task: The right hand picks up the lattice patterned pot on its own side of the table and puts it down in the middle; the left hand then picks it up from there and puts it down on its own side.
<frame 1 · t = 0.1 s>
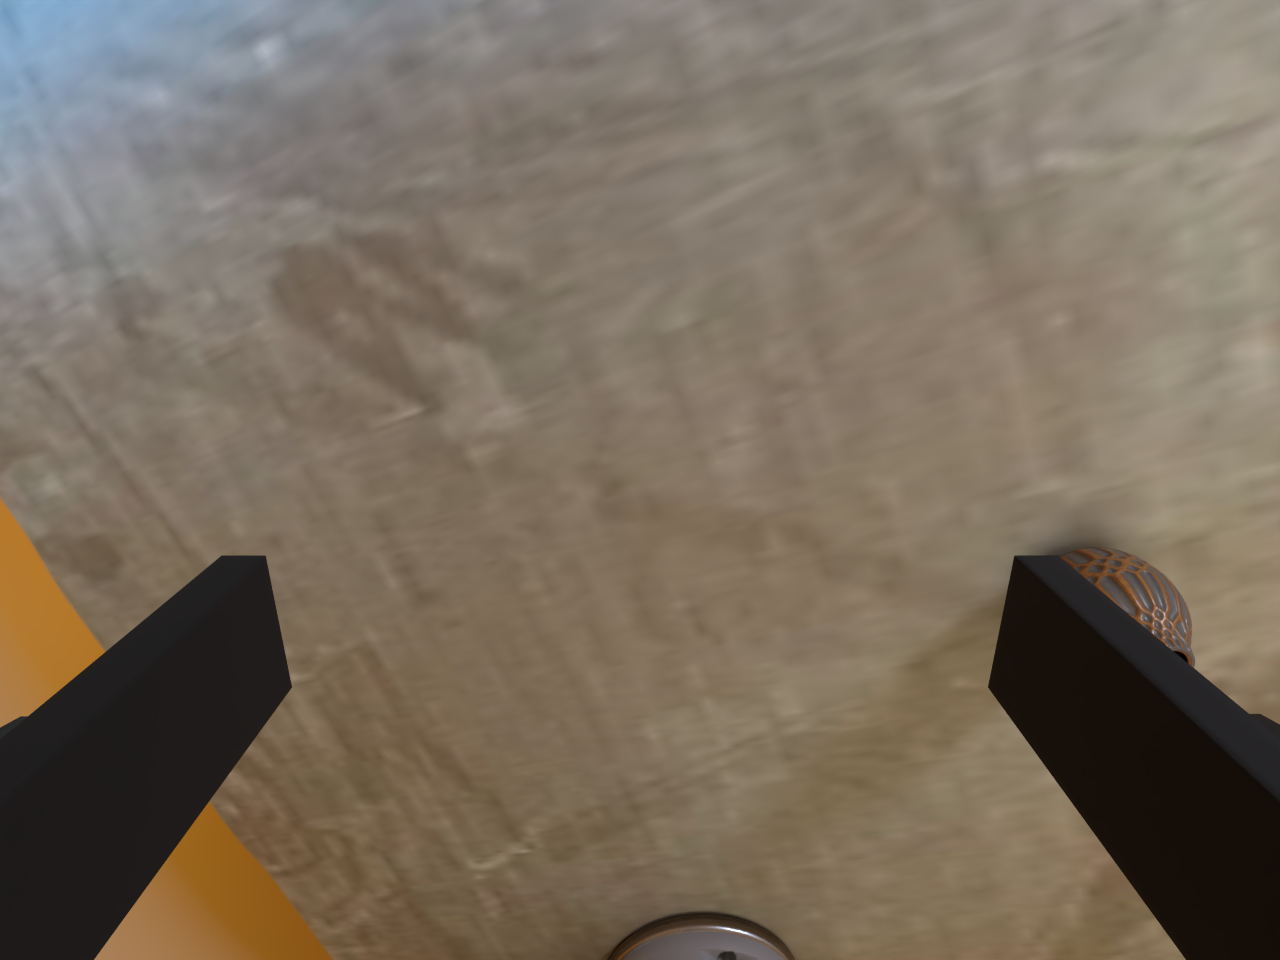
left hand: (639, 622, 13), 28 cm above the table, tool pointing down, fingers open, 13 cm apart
lattice patterned pot: (1072, 582, 44), on the table
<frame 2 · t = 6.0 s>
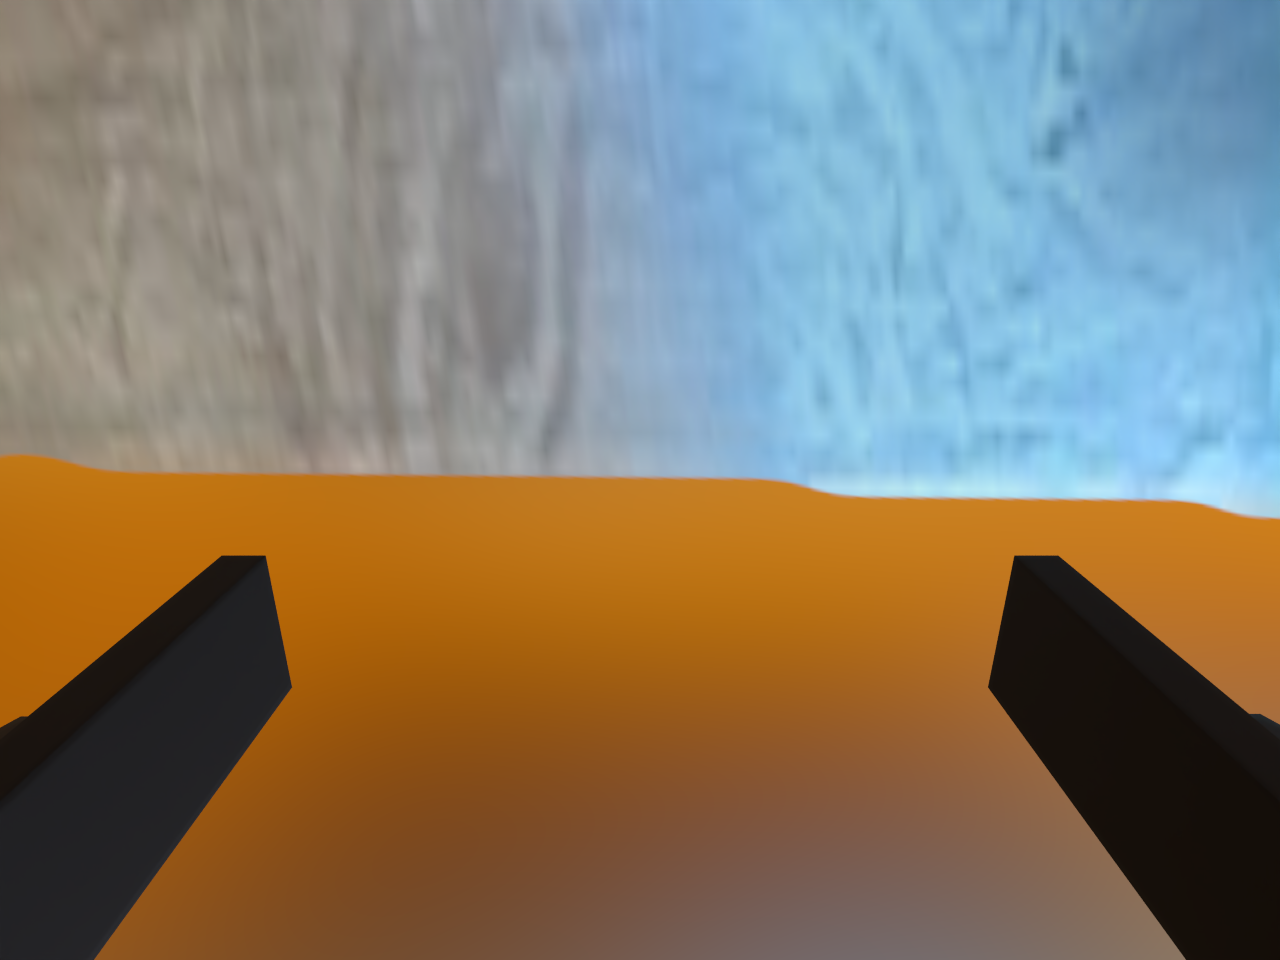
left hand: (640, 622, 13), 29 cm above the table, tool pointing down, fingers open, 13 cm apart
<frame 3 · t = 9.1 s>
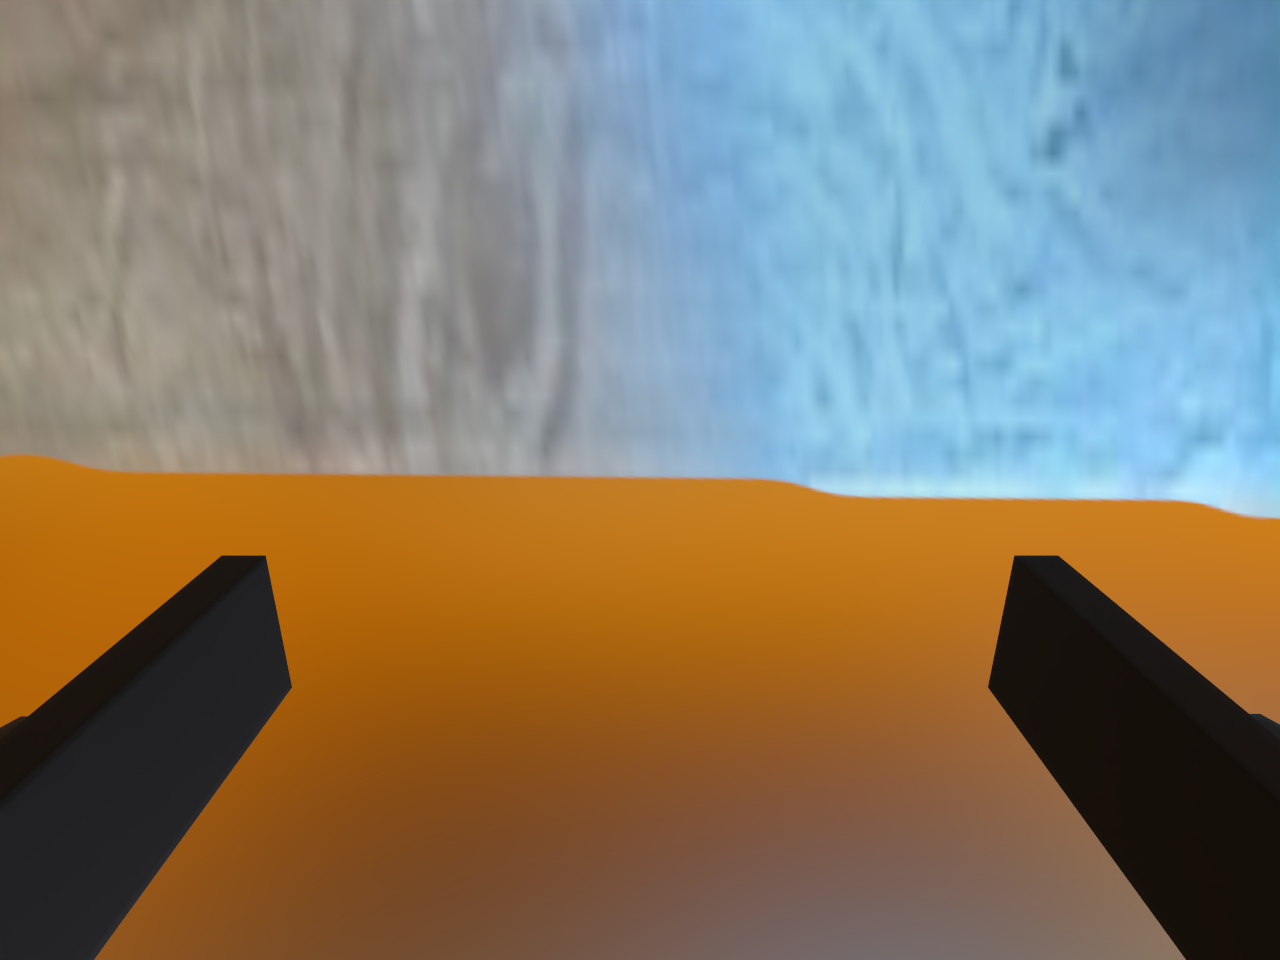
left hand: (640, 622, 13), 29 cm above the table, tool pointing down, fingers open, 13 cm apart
when the right hand's fingers open (4 cm above the table, at t = 12.7 s): lattice patterned pot drops 1 cm, on the table.
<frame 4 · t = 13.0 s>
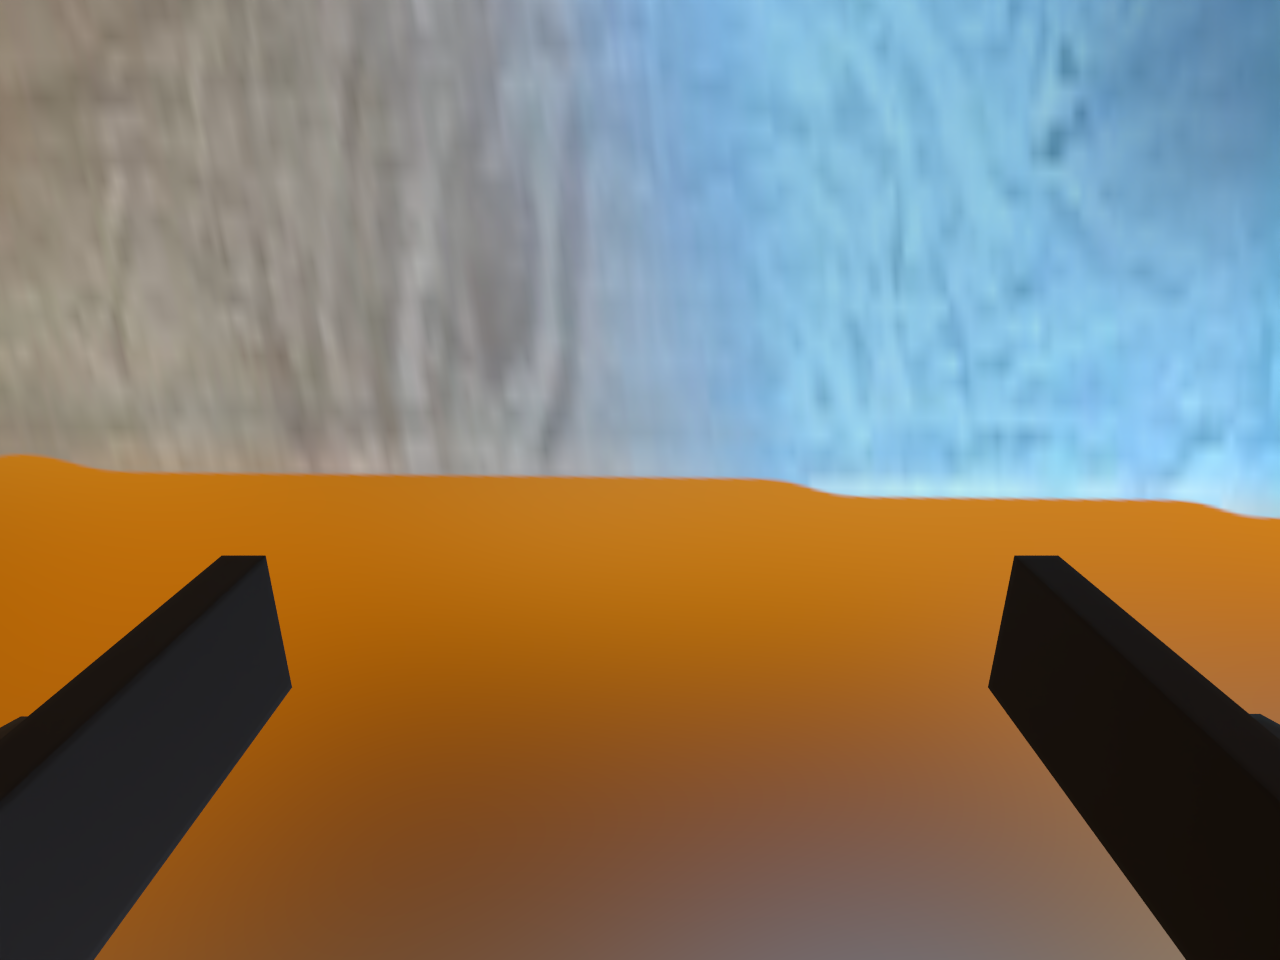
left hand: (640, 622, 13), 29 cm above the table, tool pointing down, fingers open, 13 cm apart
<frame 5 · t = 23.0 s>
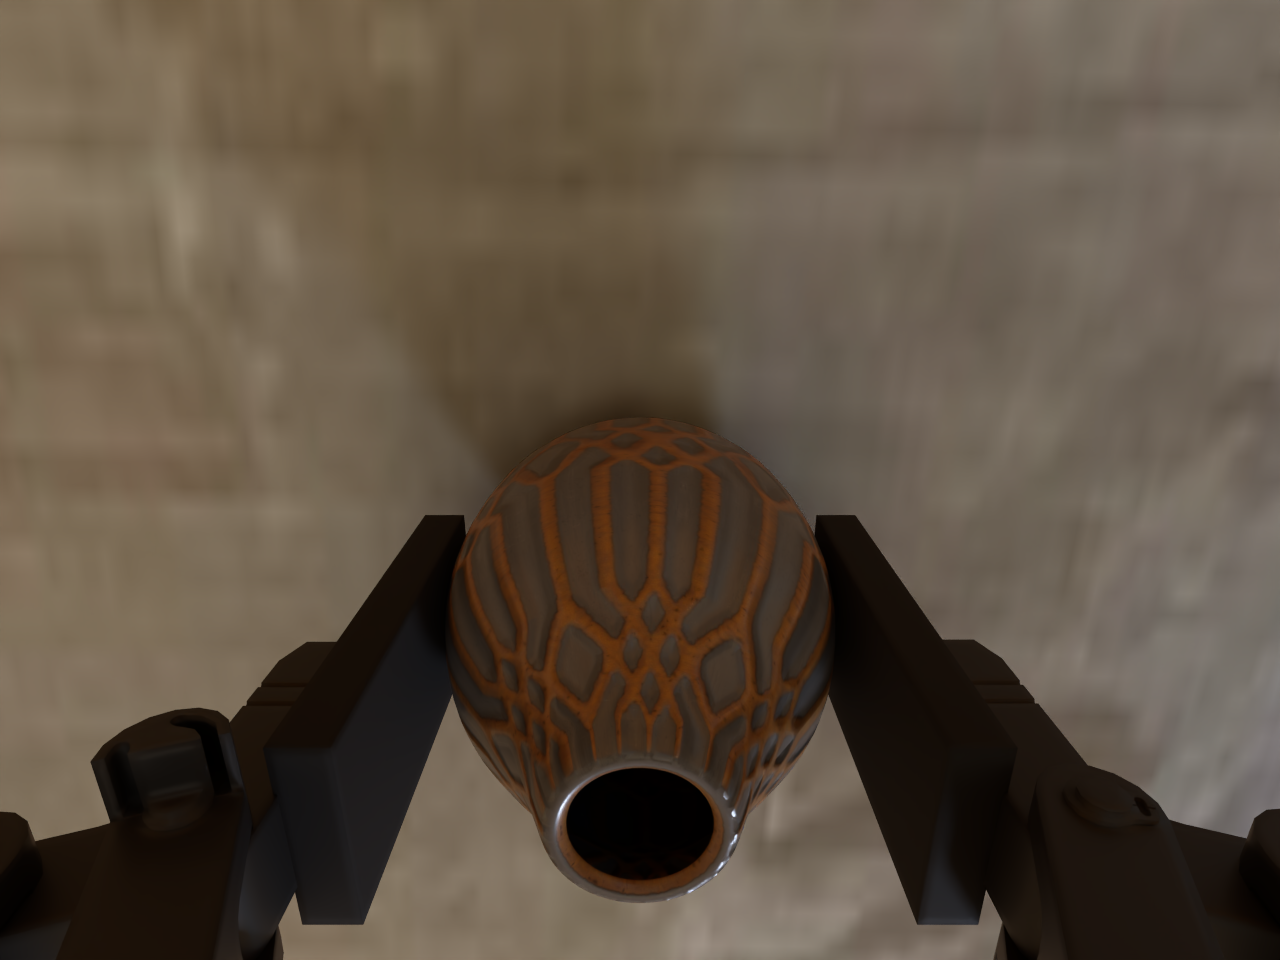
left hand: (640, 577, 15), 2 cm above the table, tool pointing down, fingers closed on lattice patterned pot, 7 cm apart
lattice patterned pot: (640, 529, 17), on the table, touching left hand
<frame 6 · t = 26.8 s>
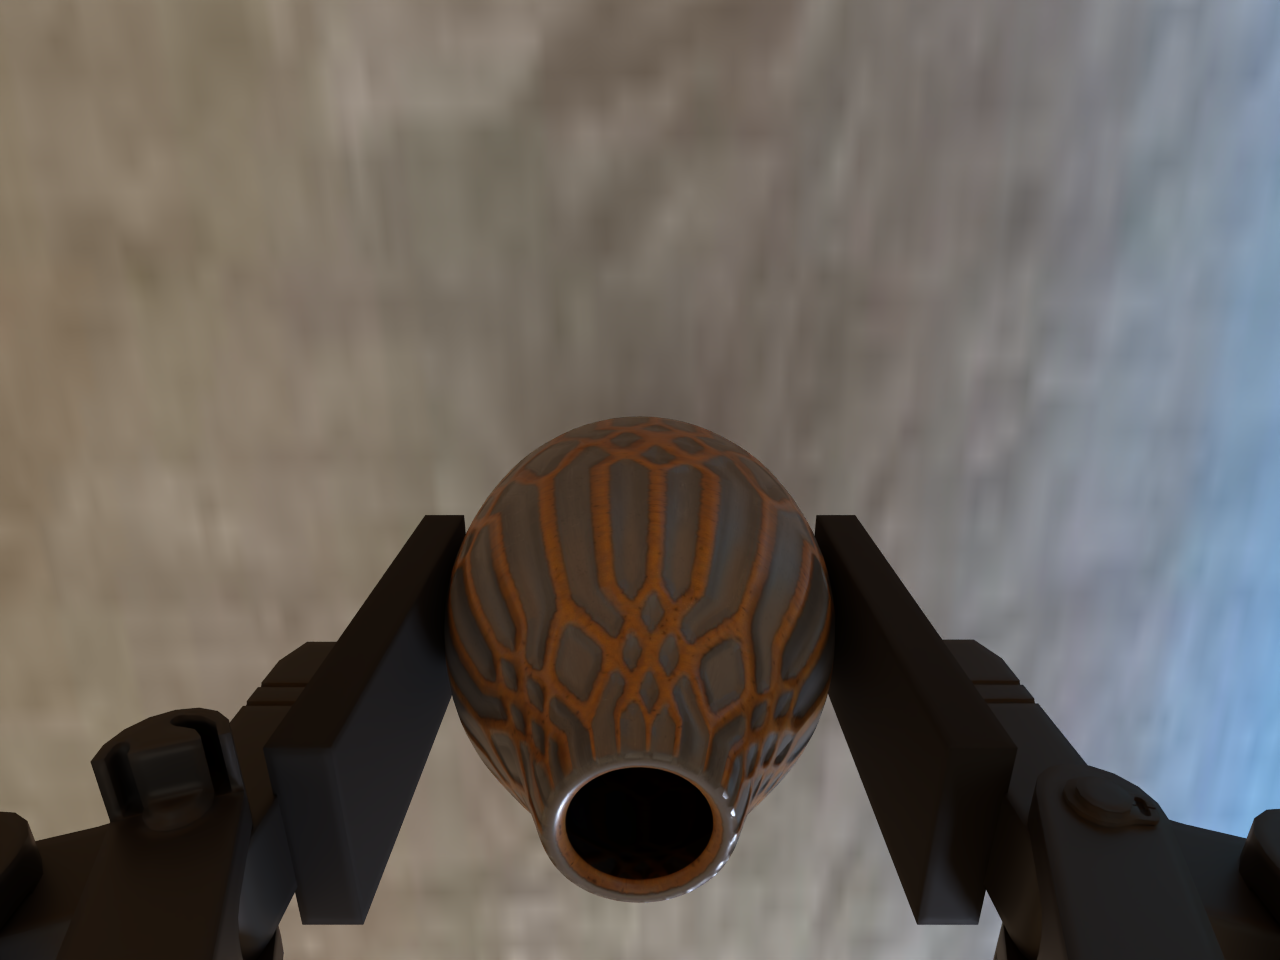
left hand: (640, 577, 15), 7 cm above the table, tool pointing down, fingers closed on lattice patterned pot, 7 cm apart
lattice patterned pot: (639, 528, 17), point 5 cm above the table, touching left hand
when the left hand's fingers open (4 cm above the table, at t = 30.5 s): lattice patterned pot drops 1 cm, on the table.
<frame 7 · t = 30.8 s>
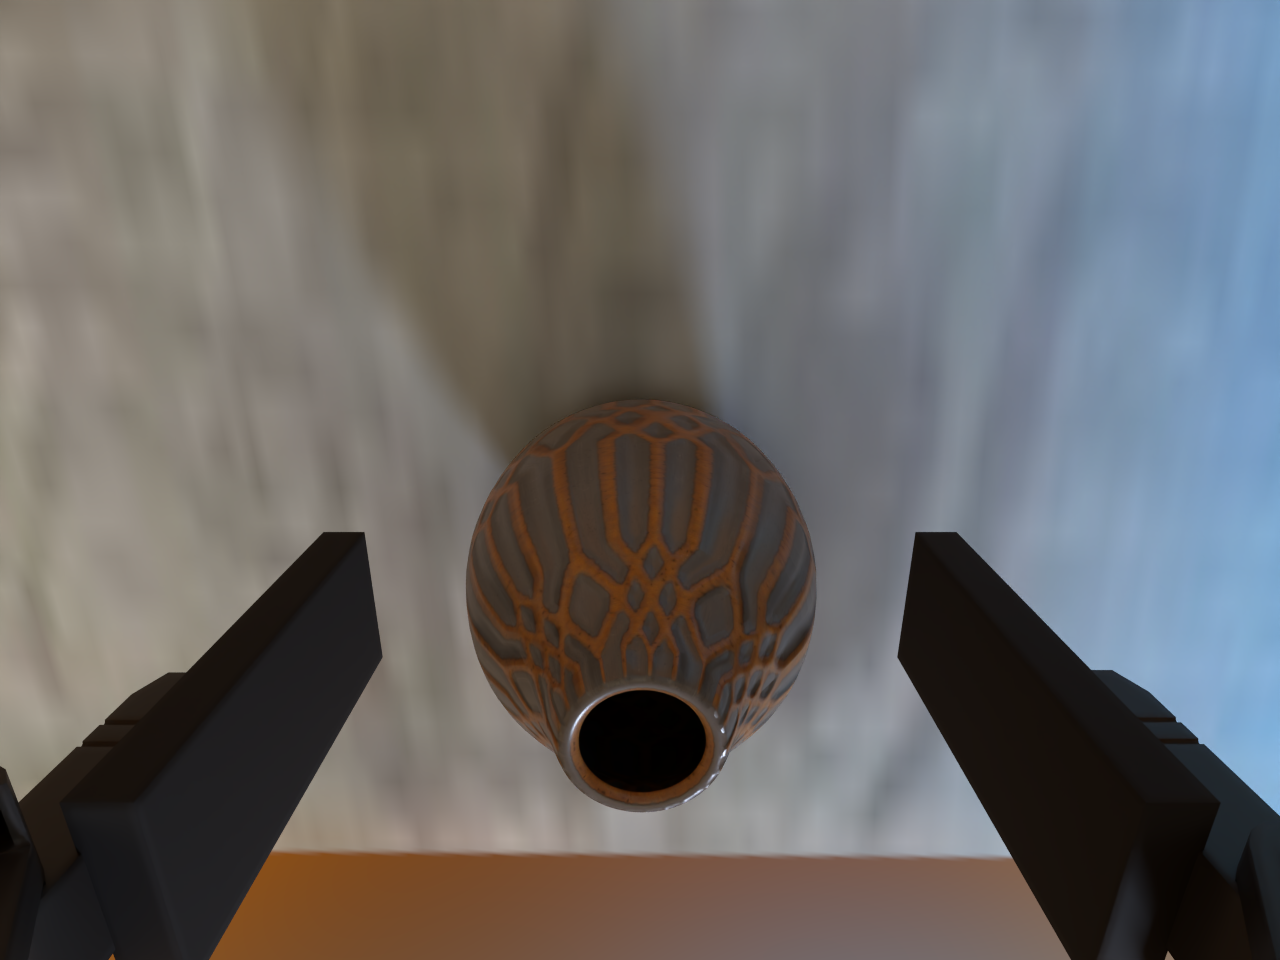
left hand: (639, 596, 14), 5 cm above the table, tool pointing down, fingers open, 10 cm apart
lattice patterned pot: (640, 505, 18), on the table
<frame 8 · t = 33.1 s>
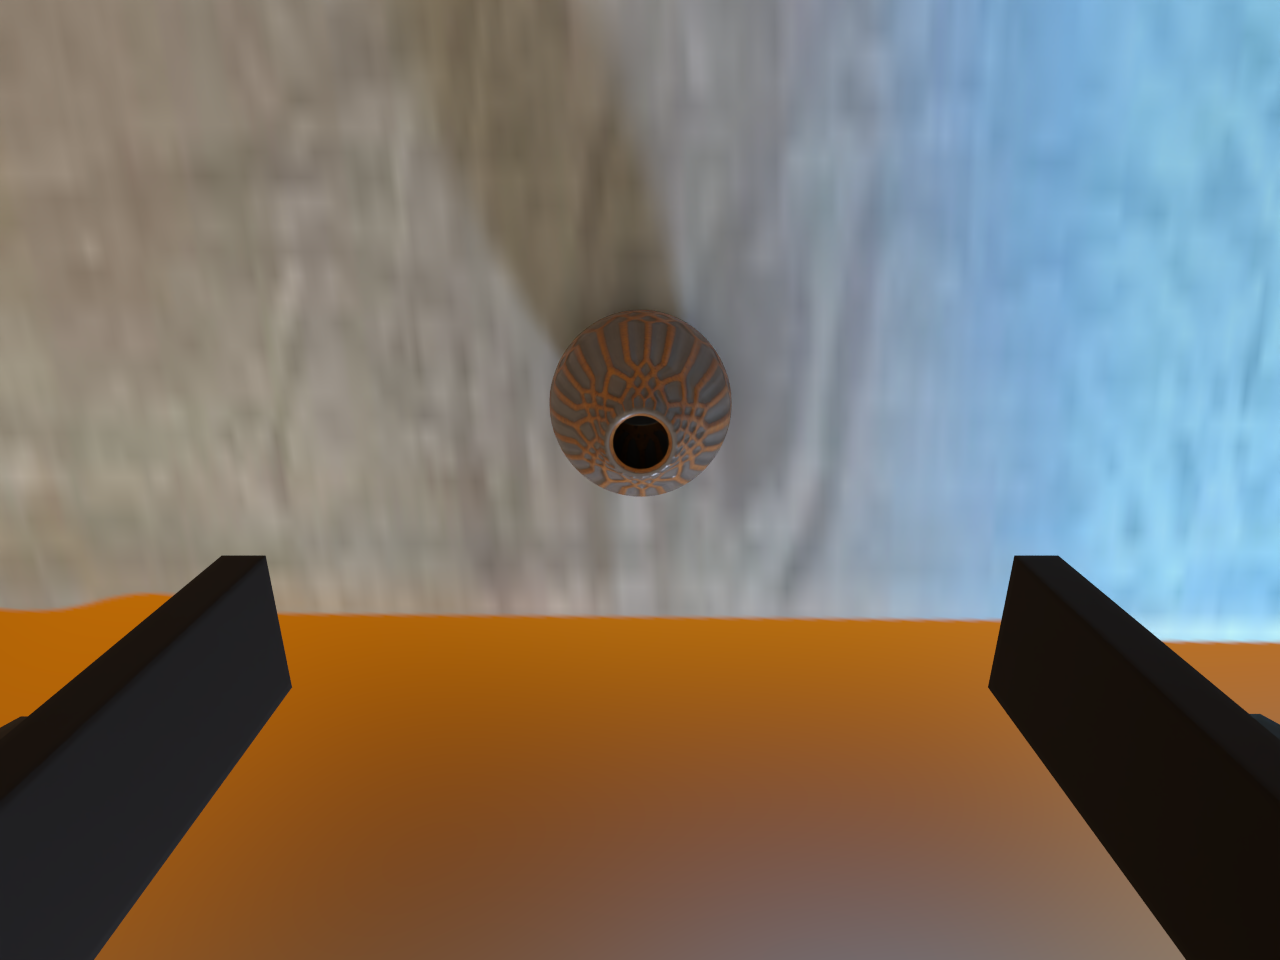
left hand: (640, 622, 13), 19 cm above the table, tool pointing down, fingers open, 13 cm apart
lattice patterned pot: (640, 382, 31), on the table
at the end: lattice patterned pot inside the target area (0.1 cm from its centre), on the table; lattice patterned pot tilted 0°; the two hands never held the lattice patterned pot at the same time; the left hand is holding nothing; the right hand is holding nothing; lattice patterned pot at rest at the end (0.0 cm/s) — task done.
